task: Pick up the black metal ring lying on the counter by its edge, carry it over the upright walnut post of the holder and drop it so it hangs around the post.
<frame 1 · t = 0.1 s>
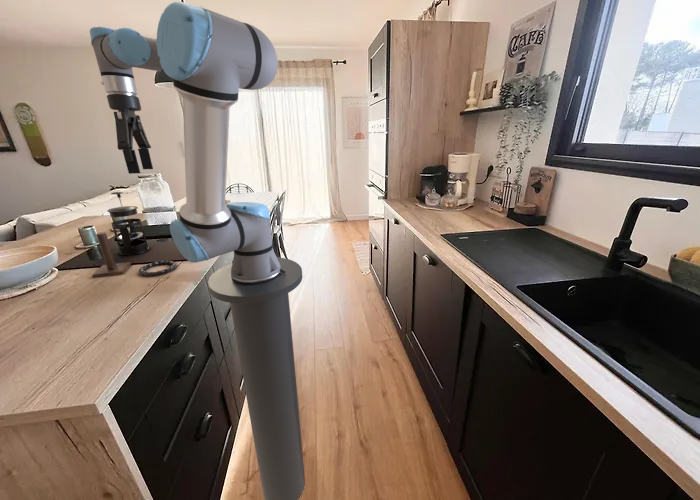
hand: (141, 171, 90), 31 cm above the counter, tool pointing down, fingers open, 13 cm apart
ring: (158, 267, 96), point 1 cm above the counter
holder: (113, 270, 95), on the counter
french press: (134, 252, 111), on the counter
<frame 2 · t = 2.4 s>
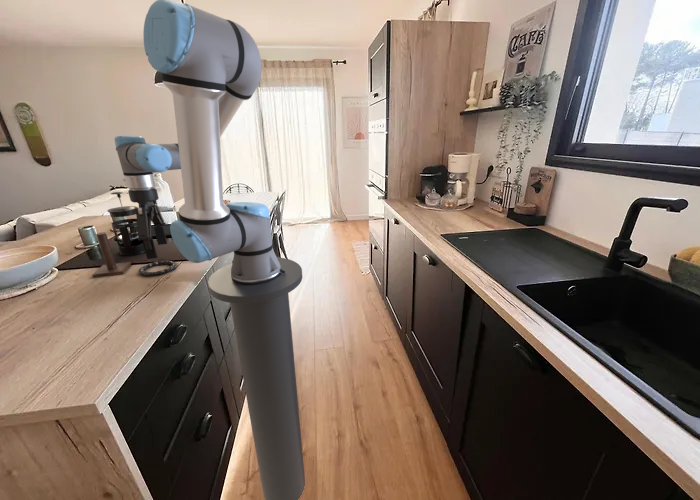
hand: (157, 250, 98), 5 cm above the counter, tool pointing down, fingers open, 13 cm apart
nothing on the counter moved.
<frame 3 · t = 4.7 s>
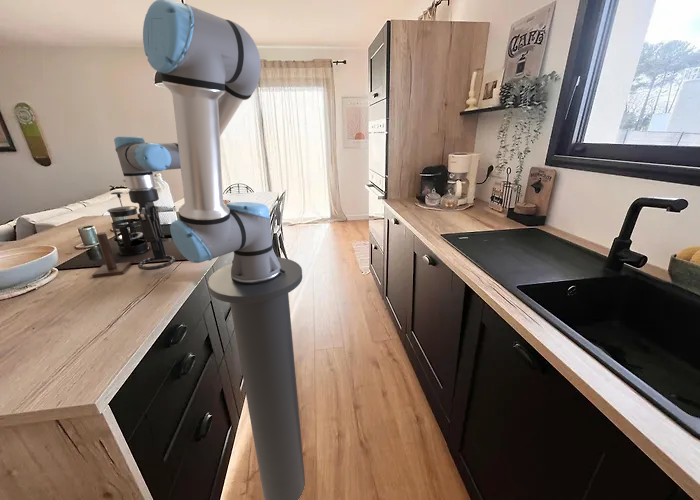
hand: (160, 257, 99), 3 cm above the counter, tool pointing down, fingers closed on ring, 1 cm apart
ring: (157, 262, 95), point 3 cm above the counter, touching gripper
everything else where it was.
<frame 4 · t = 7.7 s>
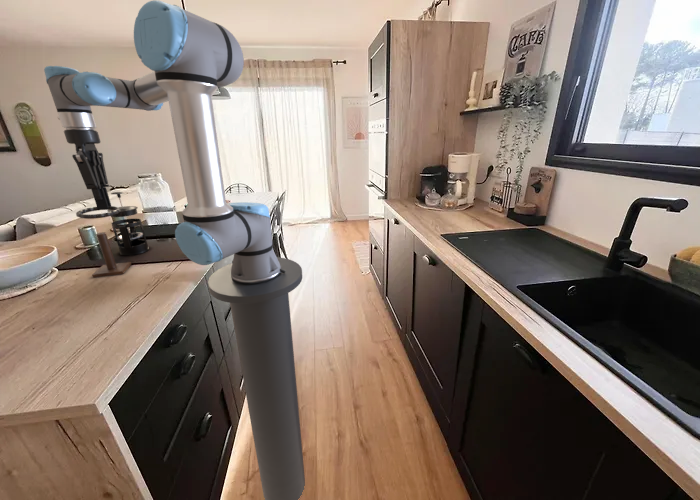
hand: (105, 208, 92), 20 cm above the counter, tool pointing down, fingers closed on ring, 1 cm apart
ring: (98, 212, 88), point 20 cm above the counter, touching gripper
everything else where it was.
when the fingers open (8 cm above the counter, at t = 10.9 s): ring drops 6 cm, resting on holder.
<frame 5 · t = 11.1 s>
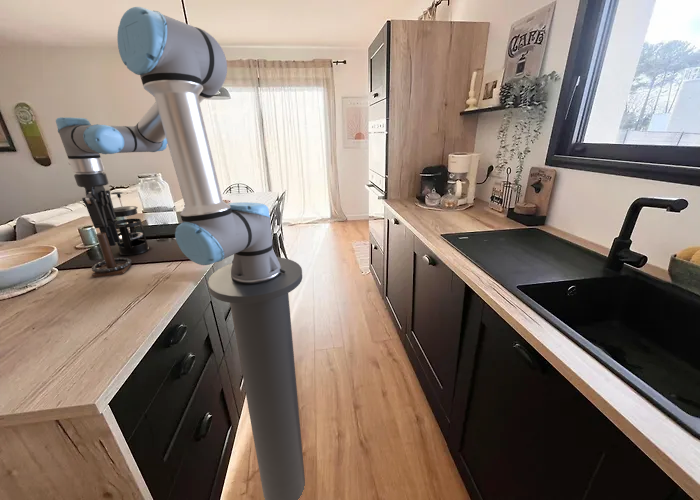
hand: (112, 243, 97), 8 cm above the counter, tool pointing down, fingers open, 3 cm apart
ring: (112, 264, 95), point 2 cm above the counter, touching holder
everything else where it was.
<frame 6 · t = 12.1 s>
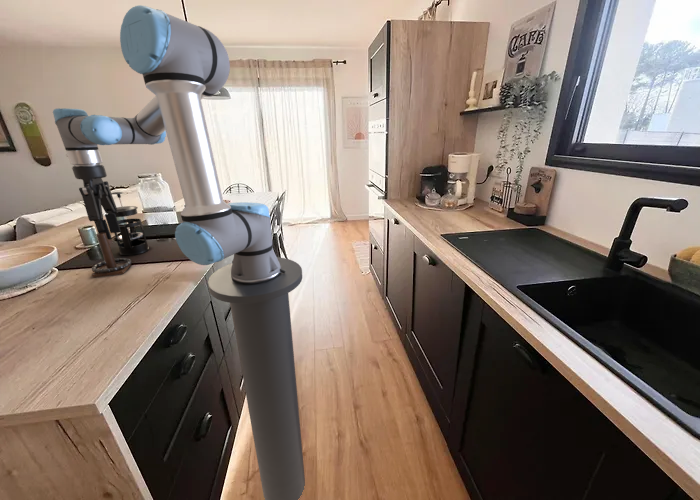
hand: (111, 235, 96), 11 cm above the counter, tool pointing down, fingers open, 7 cm apart
nothing on the counter moved.
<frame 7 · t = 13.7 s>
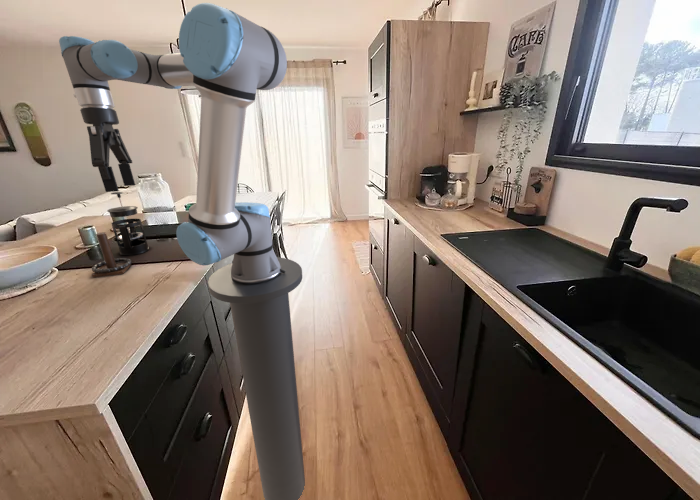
hand: (121, 188, 84), 27 cm above the counter, tool pointing down, fingers open, 13 cm apart
nothing on the counter moved.
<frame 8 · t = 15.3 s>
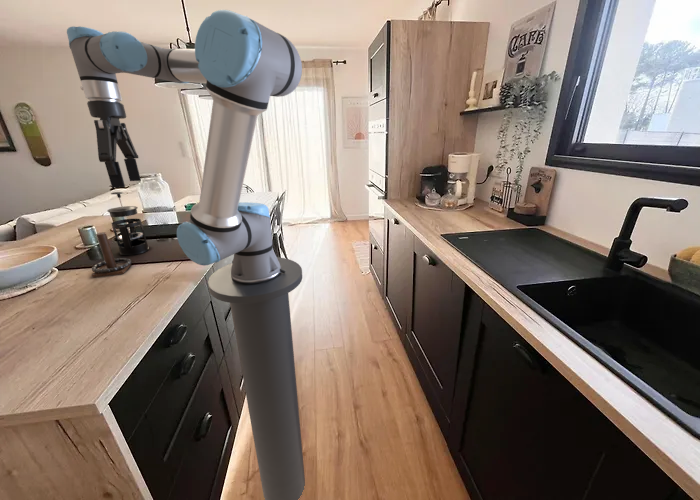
hand: (127, 183, 83), 29 cm above the counter, tool pointing down, fingers open, 13 cm apart
nothing on the counter moved.
at the end: ring 1.0 cm from the holder (horizontally); ring point 1.6 cm above the counter; the gripper is holding nothing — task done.
